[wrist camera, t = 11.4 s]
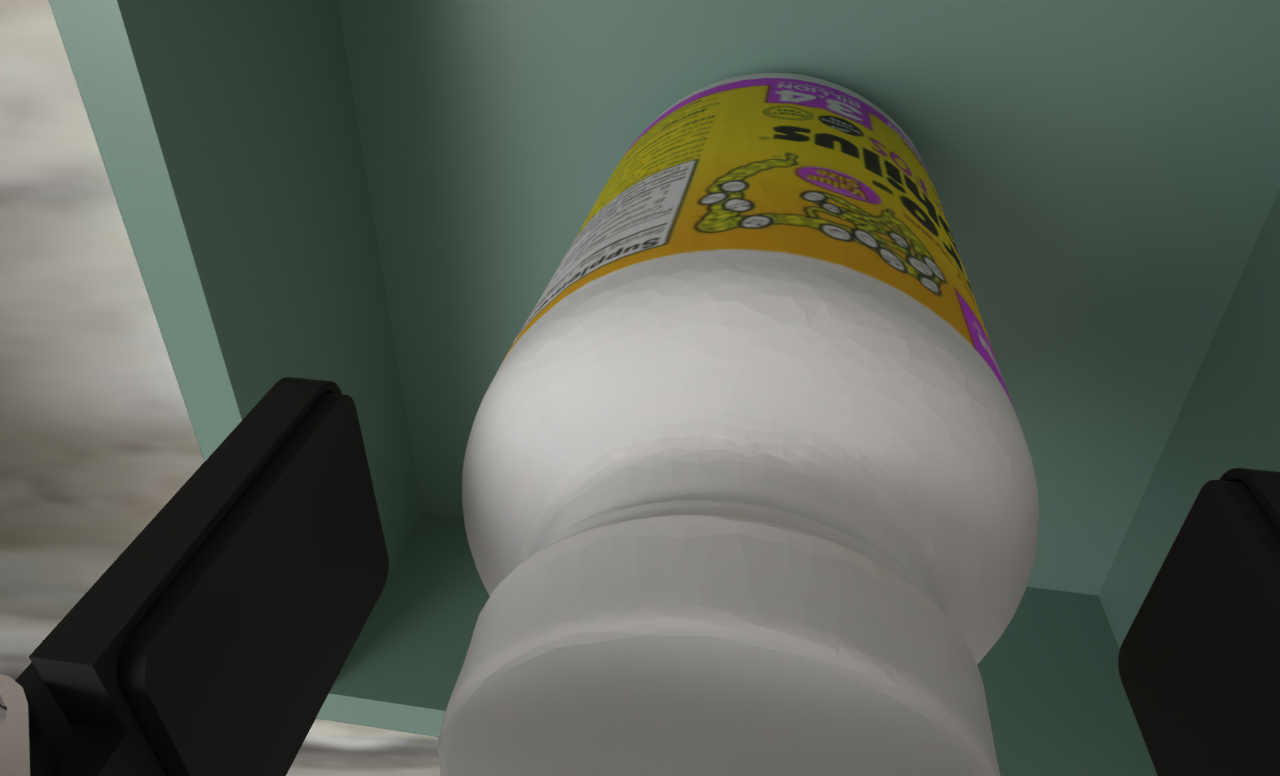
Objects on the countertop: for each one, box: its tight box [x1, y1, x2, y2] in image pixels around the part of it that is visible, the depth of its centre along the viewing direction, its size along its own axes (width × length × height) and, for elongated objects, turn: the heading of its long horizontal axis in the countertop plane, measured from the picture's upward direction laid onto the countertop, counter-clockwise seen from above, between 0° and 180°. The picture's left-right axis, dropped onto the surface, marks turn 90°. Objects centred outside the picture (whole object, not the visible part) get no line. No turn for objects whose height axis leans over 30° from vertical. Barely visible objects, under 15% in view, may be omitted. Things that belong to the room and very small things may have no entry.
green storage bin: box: [49, 0, 1280, 776], centre depth 16 cm, size 20×20×7 cm
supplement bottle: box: [438, 73, 1039, 776], centre depth 12 cm, size 7×7×13 cm
